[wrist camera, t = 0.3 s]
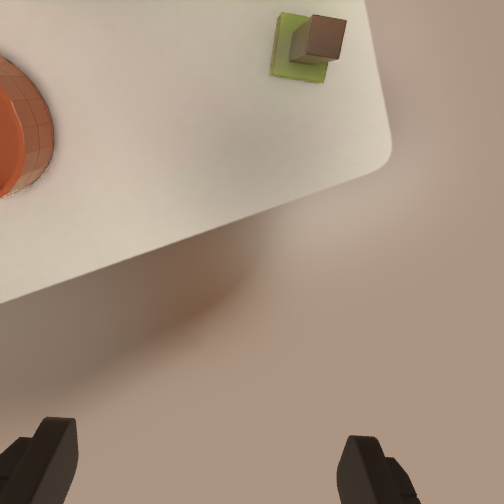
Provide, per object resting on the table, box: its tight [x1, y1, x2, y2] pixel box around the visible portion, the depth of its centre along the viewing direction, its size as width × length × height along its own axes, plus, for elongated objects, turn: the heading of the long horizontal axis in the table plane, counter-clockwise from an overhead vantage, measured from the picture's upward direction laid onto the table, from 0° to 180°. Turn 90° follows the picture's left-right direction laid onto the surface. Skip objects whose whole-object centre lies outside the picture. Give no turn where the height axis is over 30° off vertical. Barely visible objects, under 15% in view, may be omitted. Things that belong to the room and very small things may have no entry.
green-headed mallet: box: [269, 12, 347, 83], centre depth 31 cm, size 5×5×12 cm
